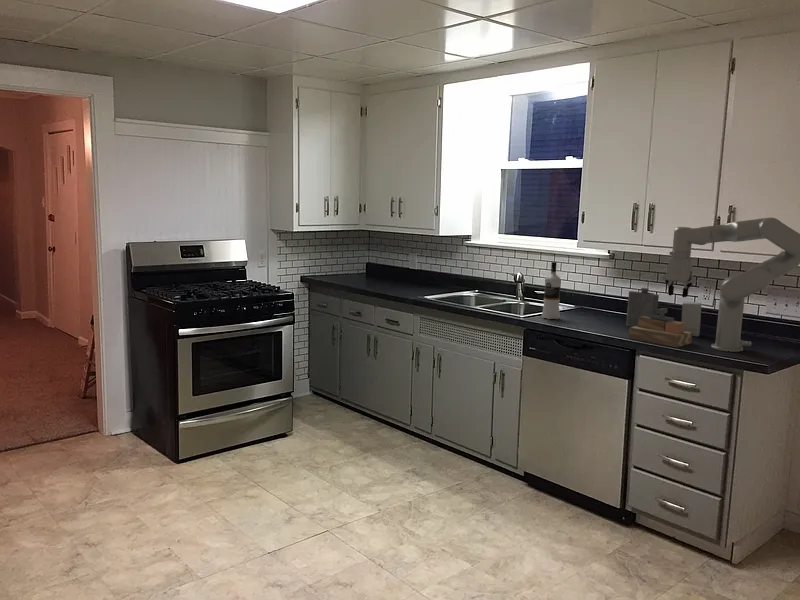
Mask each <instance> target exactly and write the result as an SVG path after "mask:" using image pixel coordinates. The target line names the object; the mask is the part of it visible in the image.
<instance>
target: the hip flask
mask: <svg viewBox="0 0 800 600" xmlns="http://www.w3.org/2000/svg"><path fill="white" fill-rule="evenodd" d="M649 289H650V288H647V287H641V288H640V290H641V291H633V290H632V291H631V290H630V291H628V298H627V299H628V300H627V310H626V325H625V326H626V327H634V326H638V321H639V317H642V316H645V317H650V315H658V314H657V309H659V297H660V296H659V294H655V293H653V292H649Z"/></svg>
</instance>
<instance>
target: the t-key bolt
mask: <svg viewBox="0 0 800 600" xmlns="http://www.w3.org/2000/svg"><path fill="white" fill-rule="evenodd" d="M668 310H669V309H668V308H667V307H661V308H658V309H657V315H650V318H653V319H659V320H666V321H675V317H669V316H666V315H665V314H668Z"/></svg>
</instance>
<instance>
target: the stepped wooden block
mask: <svg viewBox="0 0 800 600" xmlns="http://www.w3.org/2000/svg"><path fill="white" fill-rule="evenodd" d="M666 322H668V321H666V320H659V319H653V318H650V317H645V316H642V317H639V321H638V326H634V327H631V326H629V328H628V329H629V330H628V338H629V339H630V340H635V341H636V340H637V341H640V342H641V341H642V342H648V343H652V344H653V343H654V344H657V345H663V346H669V347H675V348H679V347H683V346H687V345H690V344H692V343H693V336H692V334H693V332H688V331H684V333H680V334H674V333H668V332H665V324H666Z"/></svg>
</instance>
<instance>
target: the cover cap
mask: <svg viewBox="0 0 800 600" xmlns="http://www.w3.org/2000/svg"><path fill="white" fill-rule="evenodd" d="M684 329H685V323H684V322H682V321H677V320H674V321H668V322H666V324H665V332H668V333H674V334H680V333H684Z"/></svg>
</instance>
